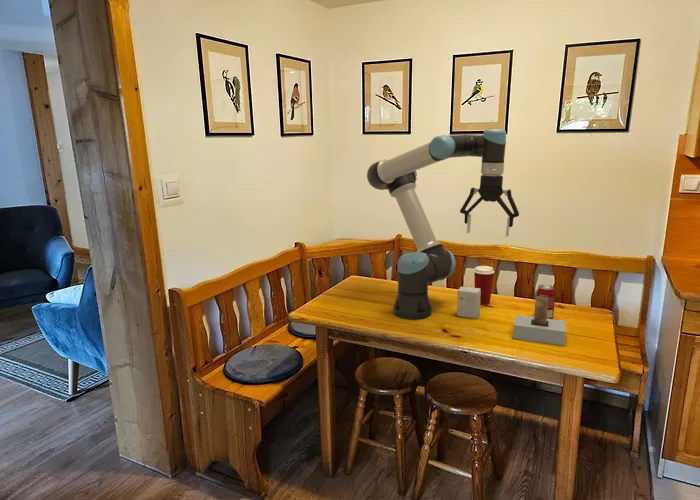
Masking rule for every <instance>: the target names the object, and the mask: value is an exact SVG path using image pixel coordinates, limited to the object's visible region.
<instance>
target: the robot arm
mask: <svg viewBox="0 0 700 500" xmlns="http://www.w3.org/2000/svg"><path fill="white" fill-rule="evenodd" d="M506 144H507V132H506V130H505V129H492V128H491V129H484V130H483V134H481V135H480V134H479V135H478V134H458V135H456V134H452V135H450V134H449V135H446V134H442V135H437V136H434V137H433V138H432V139H431V141H430V142H428V143H425V144H423V145H421V146H418V147H415V148H413V149H411V150H408V151H406V152H404V153H402V154H400V155H397V156H395V157H392V158H390V159H381V160H378V161H376V162H374V163H372V164H371V165H370V166H369V167H368V169H367V172H366V180H367V182H368V184H369V185H370V187H372V188H374V189H376V190H380V191H383V190H388V193H389V196H391V197H392V198H394V199H396V202H397V204H398V207H399V209H400V212H401V214H402V216H403V218H404V221H405V223H406V225H407V229H408V231H409V234H411V237H412V240H413V242H414V244H415V246H416V248H417V250H416V251H415V252H408V253H404V254H402V255H401V256H400V257H398V258H399V259H398V262H397V295H396V298H395V301H394V303H393V309H392V310H393V314H394V315H395V316H397V317H398V318H403V319H407V320H422V319H426V318H428V317H430V316H431V315H432V314H433V313H432V312H433V308H432V303H431V300H430V296H429V292H428V291H429V289H428V288H429V284H432V283H436V282H438V281H443V280H445V279H447V278H450V277H451V276H452V275H453V274H454V272H455V269H456V263H457V262H456V257H455V256H454V253H452V252H451V251H450V250H448V249H446V248H445V247H444V244H443V243H442V242H439V241H437V239H436V236H435V234H434V232H433V229H432V227H431V224H430V223H429V220H428V218H427V216H426V214H425V211H424V208H423V207H422V203H421V202H420V199H419V197H418V195H417V193H416V190H415V189H416V187H417V184H416V183H417V182H416V181H417V179H418V178H417V176H418V173H417V171H418V170H421V169H423V168H426V167H429V166H431V165H433V164H436V163H439V162H441V161H444V160H447V159H450V158H463V157H466V158H467V157H479V158H481V165H480V166H481V169H480V174H481V175H480V179H479V180H480V181H479V182H480V183H479V188H475V187H473V186H472V187H471V188H470V191H469V195H468V196H467V198H466V200H465V202H464V203H463V205H462V207H461V209H460V210H459V212H460V214H463V215H464V222H463V223H464V224H465V225H466V234H470V233H471V224H472V223H471V222H472V214H471V212H472V211H473V210H474V209H475V208H476V207H477V206H478V205H479V204H480V203H481V202H483V201H484V202H492V203H495V202H497V203H498V204H499V206H500V207H501V208H502V209H503V211H504V212H505V213H506V214H507V216H508V217H507V219H506V229H505V230H506V232H505V237H509V235H510V228H513V225H514V218H518V217H519V216H520V212H519V209H518V207H517V205H516V202H515V200H514V198H513V196H512V189H511V188H508V189H503V184H504V183H503V181H504V176H503V174H504V167H505V156H506V155H505V153H506ZM477 193H478V194H479V196H480V197H479V198H478V199H477V200H476V201H475V202H474V203H473V204H472V205H471V206H470V207H469V208H468V209H467V207H468V205H469V204H470V202H471V201H472V199H473V197H474V195H476V194H477ZM503 194H504V196H505V197H507V200H508V202H509V205H510V207H511V209H512V210H511V209H510V208H509V207H508V206H507V204H506V203H505V202H504V200H503V199H502V197H501V196H502V195H503ZM466 209H467V210H466ZM512 211H513V212H512Z"/></svg>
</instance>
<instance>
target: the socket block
mask: <svg viewBox="0 0 700 500" xmlns="http://www.w3.org/2000/svg"><path fill="white" fill-rule="evenodd" d="M512 339H514V340H519V341H526V342H535V343H541V344H548V345H555V346H561V347H563V346H564V347H565V340H566V320H562V319H561V320H560V319H552V318H550V319H547V321H546V327H544V326H537V325H534V316H528V315H520V314H519V315H518V314H516V316H515V320H514V323H513V334H512Z"/></svg>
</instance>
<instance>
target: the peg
mask: <svg viewBox="0 0 700 500" xmlns="http://www.w3.org/2000/svg"><path fill="white" fill-rule="evenodd" d="M535 298H536V299H535V301H534V303H535V304H534V311H535V313H534V316H533V317H534V325H537V326H544V327H546V321H547V309H548V298H547V297H543V296H537V297H536V296H535Z"/></svg>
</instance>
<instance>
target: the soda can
mask: <svg viewBox="0 0 700 500" xmlns="http://www.w3.org/2000/svg"><path fill="white" fill-rule="evenodd" d="M537 296H543V297H547V298H548V309H547V319H552V318H554V314H555V301H556V291H555V287H554V286H553V285H550V284H549V285H548V284H539V285H538V286H537V289H536V290H535V299H536V297H537ZM534 313H535V310H534Z"/></svg>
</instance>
